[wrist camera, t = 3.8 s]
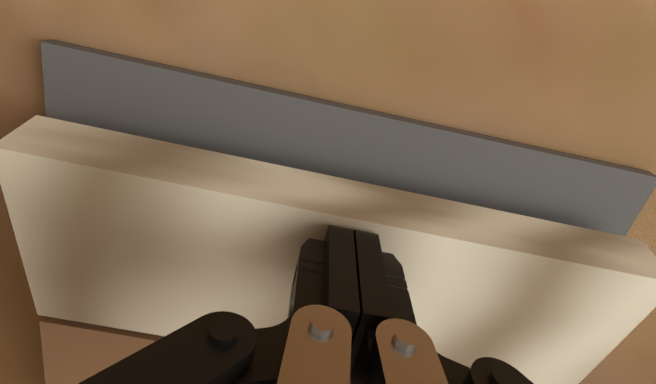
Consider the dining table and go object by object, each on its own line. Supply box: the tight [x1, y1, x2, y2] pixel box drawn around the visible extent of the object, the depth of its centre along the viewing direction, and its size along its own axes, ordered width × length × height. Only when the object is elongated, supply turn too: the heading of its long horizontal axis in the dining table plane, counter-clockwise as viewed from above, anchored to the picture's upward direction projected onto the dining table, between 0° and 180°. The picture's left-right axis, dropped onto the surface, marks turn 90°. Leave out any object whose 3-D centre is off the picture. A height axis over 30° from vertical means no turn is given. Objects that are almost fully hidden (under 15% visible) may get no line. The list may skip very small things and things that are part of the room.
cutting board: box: [39, 40, 656, 384], centre depth 17 cm, size 21×17×3 cm
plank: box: [0, 115, 656, 384], centre depth 15 cm, size 20×7×2 cm, turn 78°
